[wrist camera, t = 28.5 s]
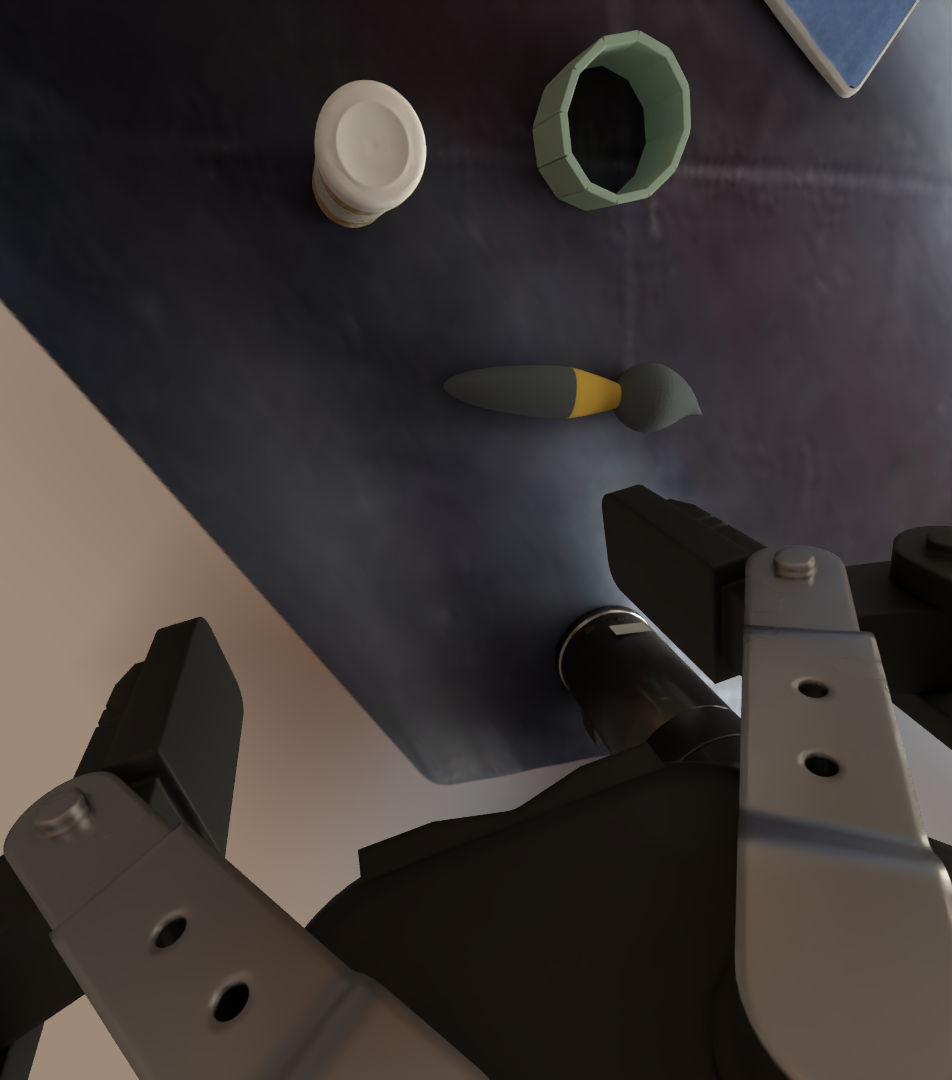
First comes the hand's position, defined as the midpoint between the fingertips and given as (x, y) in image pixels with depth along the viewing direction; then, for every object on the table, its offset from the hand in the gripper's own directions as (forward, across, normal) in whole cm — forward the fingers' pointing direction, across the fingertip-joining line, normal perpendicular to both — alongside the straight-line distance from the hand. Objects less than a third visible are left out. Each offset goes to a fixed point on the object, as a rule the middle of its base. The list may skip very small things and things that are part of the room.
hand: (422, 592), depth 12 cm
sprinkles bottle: (+32, -4, -10) cm, 34 cm away
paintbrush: (+32, -16, +6) cm, 37 cm away
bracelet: (+32, -20, -10) cm, 39 cm away
